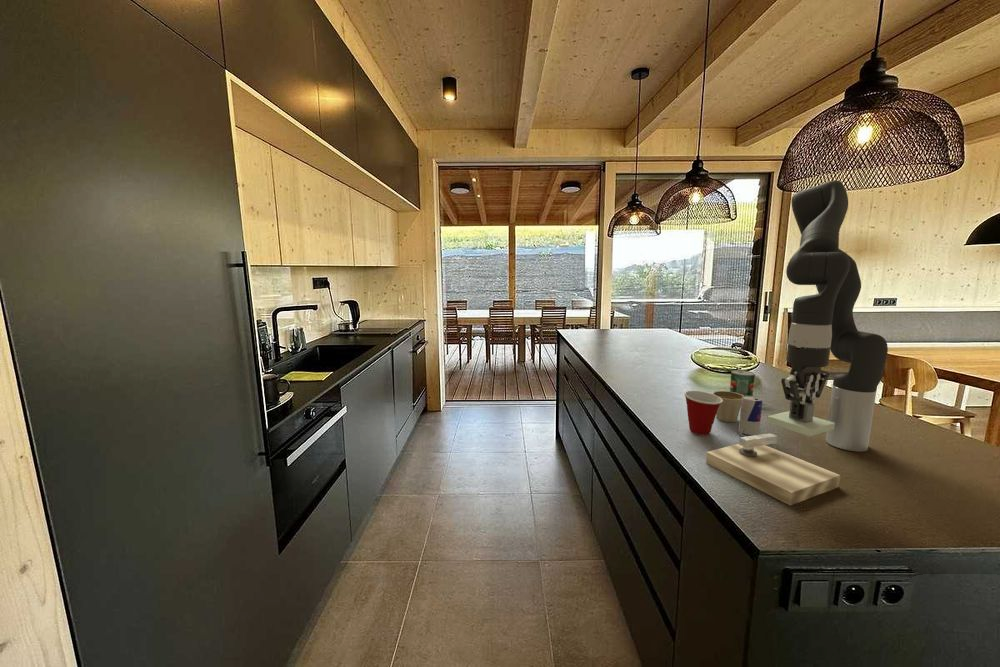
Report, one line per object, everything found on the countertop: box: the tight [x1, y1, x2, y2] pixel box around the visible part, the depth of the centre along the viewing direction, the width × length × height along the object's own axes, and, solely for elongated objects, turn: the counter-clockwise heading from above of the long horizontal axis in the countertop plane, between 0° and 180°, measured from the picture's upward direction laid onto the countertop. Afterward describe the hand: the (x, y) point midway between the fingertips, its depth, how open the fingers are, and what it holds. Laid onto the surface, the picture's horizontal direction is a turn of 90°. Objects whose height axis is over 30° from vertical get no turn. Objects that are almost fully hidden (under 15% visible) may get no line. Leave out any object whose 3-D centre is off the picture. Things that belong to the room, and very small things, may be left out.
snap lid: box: [766, 401, 835, 437], centre depth 90 cm, size 9×9×6 cm
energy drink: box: [738, 395, 763, 437], centre depth 119 cm, size 5×5×12 cm
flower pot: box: [712, 390, 743, 423], centre depth 133 cm, size 9×9×9 cm
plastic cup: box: [684, 390, 723, 436], centre depth 122 cm, size 11×11×12 cm
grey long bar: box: [738, 432, 778, 453], centre depth 102 cm, size 2×10×4 cm, turn 105°
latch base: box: [705, 443, 841, 506], centre depth 97 cm, size 18×21×4 cm
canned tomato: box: [729, 369, 756, 396], centre depth 153 cm, size 8×8×11 cm
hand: (800, 416), depth 90 cm, fingers closed on snap lid, 2 cm apart
